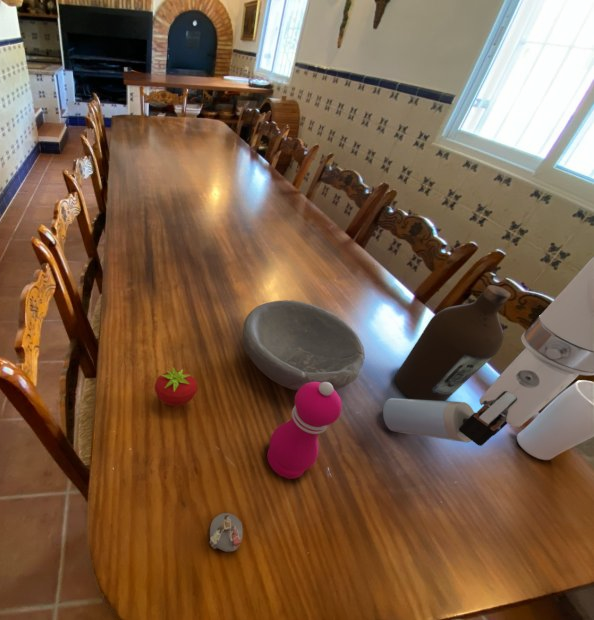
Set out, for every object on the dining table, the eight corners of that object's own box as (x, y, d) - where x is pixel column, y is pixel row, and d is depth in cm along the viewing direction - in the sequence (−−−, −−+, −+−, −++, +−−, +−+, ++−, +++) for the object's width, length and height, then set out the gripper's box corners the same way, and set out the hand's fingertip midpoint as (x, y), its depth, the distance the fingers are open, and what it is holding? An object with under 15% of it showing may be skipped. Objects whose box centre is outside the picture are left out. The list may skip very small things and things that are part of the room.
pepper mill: (262, 437, 62) (296, 359, 49) (304, 444, 62) (349, 367, 49) (265, 478, 57) (304, 402, 44) (311, 486, 56) (364, 412, 43)
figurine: (228, 512, 52) (235, 494, 49) (248, 541, 50) (258, 524, 46) (199, 533, 50) (205, 516, 46) (219, 565, 47) (227, 550, 43)
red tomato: (195, 418, 64) (203, 383, 58) (154, 419, 63) (156, 384, 57) (191, 391, 69) (198, 356, 62) (152, 392, 68) (154, 356, 62)
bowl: (342, 343, 82) (359, 310, 76) (351, 426, 65) (375, 392, 59) (242, 319, 86) (251, 286, 80) (227, 391, 69) (237, 356, 63)
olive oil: (380, 371, 76) (446, 274, 60) (420, 364, 78) (494, 269, 62) (417, 414, 68) (505, 315, 52) (460, 404, 71) (557, 308, 55)
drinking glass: (557, 447, 65) (631, 397, 55) (555, 473, 61) (635, 424, 51) (512, 423, 68) (575, 372, 58) (507, 446, 64) (574, 395, 54)
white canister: (409, 423, 66) (515, 436, 52) (390, 437, 64) (496, 454, 50) (398, 392, 67) (501, 397, 53) (378, 405, 64) (481, 414, 50)
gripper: (580, 389, 37) (475, 478, 48) (631, 343, 44) (528, 430, 55) (500, 344, 42) (421, 434, 53) (557, 309, 49) (476, 395, 60)
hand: (476, 431), depth 54 cm, fingers closed on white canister, 2 cm apart
